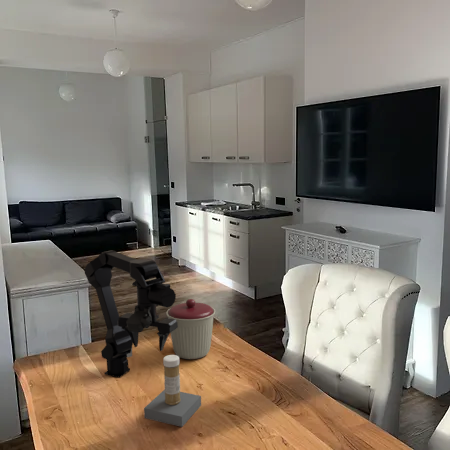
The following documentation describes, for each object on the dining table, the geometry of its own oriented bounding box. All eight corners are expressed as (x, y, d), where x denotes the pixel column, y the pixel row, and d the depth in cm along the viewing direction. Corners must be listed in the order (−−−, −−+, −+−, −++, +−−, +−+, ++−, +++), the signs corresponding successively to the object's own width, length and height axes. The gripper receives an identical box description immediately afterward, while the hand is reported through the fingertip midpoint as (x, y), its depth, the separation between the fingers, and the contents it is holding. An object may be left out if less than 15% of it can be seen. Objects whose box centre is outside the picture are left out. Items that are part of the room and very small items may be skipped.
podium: (144, 418, 132) (144, 408, 132) (165, 397, 143) (165, 388, 143) (182, 426, 128) (181, 416, 127) (201, 405, 139) (200, 395, 138)
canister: (189, 340, 188) (187, 289, 185) (225, 351, 177) (224, 297, 174) (157, 356, 173) (155, 301, 170) (195, 368, 163) (193, 310, 160)
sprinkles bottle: (172, 396, 138) (171, 352, 136) (184, 400, 135) (182, 356, 134) (161, 402, 135) (159, 358, 133) (172, 407, 132) (171, 362, 130)
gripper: (105, 305, 142) (108, 354, 144) (159, 312, 135) (161, 363, 137) (127, 295, 152) (129, 341, 154) (177, 301, 145) (179, 349, 147)
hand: (148, 348), depth 148 cm, fingers open, 9 cm apart
